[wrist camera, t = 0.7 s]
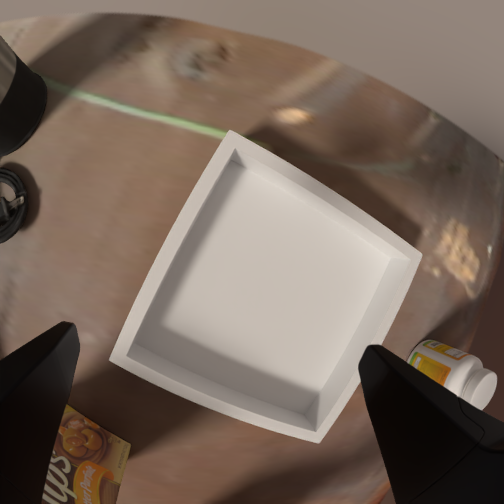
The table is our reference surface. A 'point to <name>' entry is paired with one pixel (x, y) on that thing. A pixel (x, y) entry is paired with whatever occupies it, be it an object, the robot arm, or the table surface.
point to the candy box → (85, 463)
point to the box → (266, 295)
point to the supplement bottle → (455, 371)
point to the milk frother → (16, 129)
